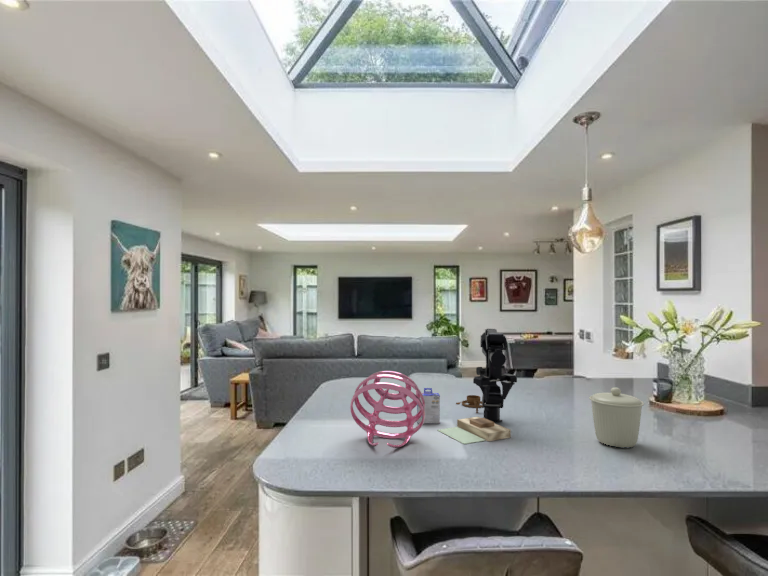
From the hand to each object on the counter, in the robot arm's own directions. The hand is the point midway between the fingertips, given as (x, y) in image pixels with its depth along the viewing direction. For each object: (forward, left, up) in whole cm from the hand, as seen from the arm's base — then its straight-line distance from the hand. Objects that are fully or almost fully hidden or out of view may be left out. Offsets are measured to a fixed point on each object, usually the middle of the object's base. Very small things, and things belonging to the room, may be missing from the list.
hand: (495, 400), depth 175 cm
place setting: (-14, -34, -13) cm, 39 cm away
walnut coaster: (+7, +1, -9) cm, 12 cm away
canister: (-30, +33, -12) cm, 46 cm away
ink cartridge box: (+20, -20, -12) cm, 31 cm away
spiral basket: (+47, -4, -12) cm, 49 cm away
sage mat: (+18, +1, -12) cm, 22 cm away
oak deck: (+7, +1, -12) cm, 14 cm away
